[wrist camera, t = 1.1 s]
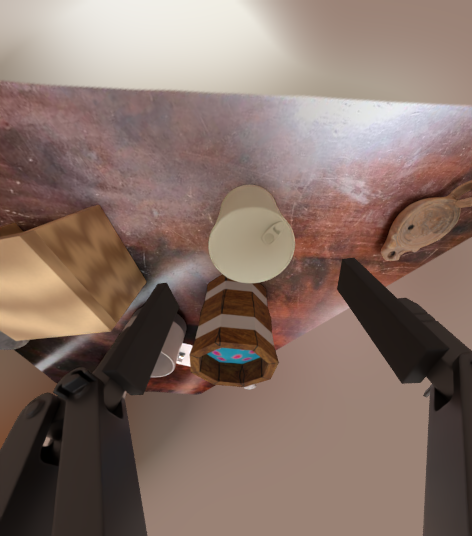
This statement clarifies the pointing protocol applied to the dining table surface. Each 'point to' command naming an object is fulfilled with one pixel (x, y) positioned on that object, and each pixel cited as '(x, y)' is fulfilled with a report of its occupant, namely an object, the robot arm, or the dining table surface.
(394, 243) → the oil lamp
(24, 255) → the shelf
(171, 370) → the planter
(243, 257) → the can
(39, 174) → the dining table surface
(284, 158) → the dining table surface
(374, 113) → the dining table surface
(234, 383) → the mug
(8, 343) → the bowl
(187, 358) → the white paper sheet
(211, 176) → the dining table surface
